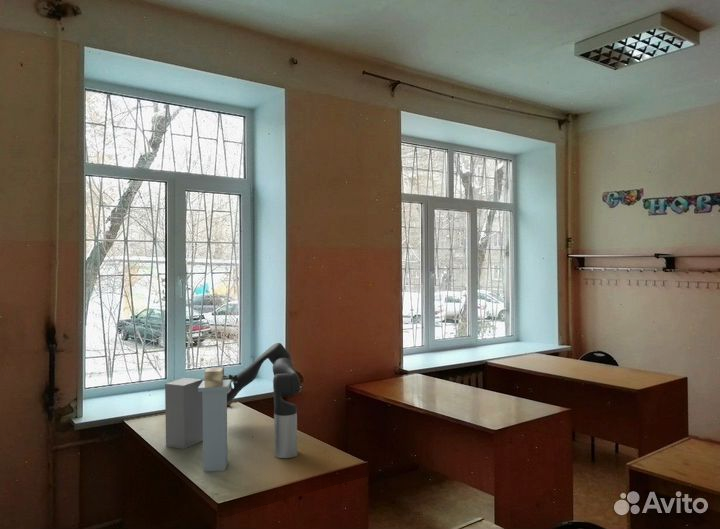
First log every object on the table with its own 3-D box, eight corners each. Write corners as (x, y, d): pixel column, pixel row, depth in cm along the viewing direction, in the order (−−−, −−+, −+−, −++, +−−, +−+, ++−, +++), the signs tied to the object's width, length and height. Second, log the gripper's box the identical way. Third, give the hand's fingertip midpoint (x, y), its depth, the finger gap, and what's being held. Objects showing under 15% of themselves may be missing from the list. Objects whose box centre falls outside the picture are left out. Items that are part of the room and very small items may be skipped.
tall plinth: (232, 458, 212) (231, 379, 212) (228, 470, 200) (227, 386, 200) (204, 460, 211) (202, 380, 210) (199, 472, 199) (197, 387, 198)
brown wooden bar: (227, 374, 221) (227, 360, 221) (221, 386, 199) (220, 371, 199) (212, 374, 220) (212, 360, 220) (204, 387, 199) (204, 371, 198)
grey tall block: (184, 437, 238) (184, 377, 238) (202, 439, 234) (202, 379, 234) (165, 446, 227) (165, 383, 226) (184, 449, 223) (183, 385, 223)
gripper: (239, 390, 243) (237, 384, 228) (207, 395, 240) (203, 389, 225) (237, 374, 246) (235, 367, 231) (206, 379, 243) (202, 372, 228)
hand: (219, 378), depth 228 cm, fingers open, 8 cm apart
